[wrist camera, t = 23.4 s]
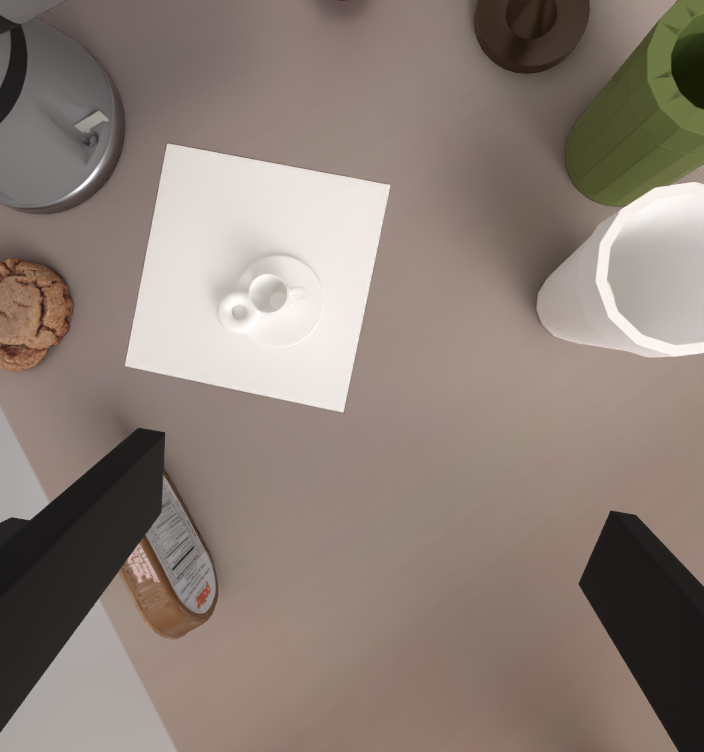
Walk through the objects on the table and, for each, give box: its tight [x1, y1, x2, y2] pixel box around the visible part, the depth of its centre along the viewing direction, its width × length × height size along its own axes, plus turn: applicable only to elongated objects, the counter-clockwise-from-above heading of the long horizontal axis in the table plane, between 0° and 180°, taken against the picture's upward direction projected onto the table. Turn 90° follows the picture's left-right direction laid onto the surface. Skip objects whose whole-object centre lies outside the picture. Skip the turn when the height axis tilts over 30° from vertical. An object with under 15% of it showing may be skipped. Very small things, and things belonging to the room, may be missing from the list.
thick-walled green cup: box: [565, 0, 704, 206], centre depth 31 cm, size 9×9×11 cm
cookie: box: [0, 258, 73, 372], centre depth 38 cm, size 10×11×3 cm
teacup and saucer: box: [216, 254, 325, 349], centre depth 36 cm, size 9×8×4 cm
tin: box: [119, 471, 218, 639], centre depth 35 cm, size 15×3×8 cm, turn 28°
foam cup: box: [536, 182, 704, 357], centre depth 30 cm, size 10×9×13 cm
